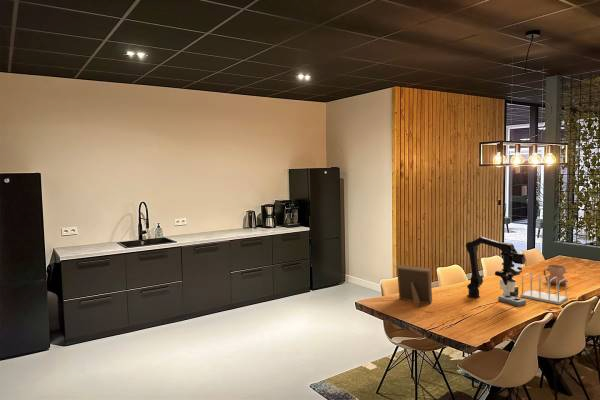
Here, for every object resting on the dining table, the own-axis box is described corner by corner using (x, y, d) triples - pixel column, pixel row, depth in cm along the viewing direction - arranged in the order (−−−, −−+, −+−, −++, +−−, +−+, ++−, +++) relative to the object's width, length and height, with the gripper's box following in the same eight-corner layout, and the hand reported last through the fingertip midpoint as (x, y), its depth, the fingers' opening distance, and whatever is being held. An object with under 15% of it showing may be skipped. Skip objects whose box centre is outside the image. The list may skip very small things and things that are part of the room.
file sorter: (567, 299, 308) (568, 277, 307) (559, 305, 296) (560, 282, 295) (529, 292, 326) (530, 271, 325) (520, 297, 315) (521, 275, 313)
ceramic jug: (571, 284, 345) (572, 266, 344) (564, 287, 335) (565, 269, 334) (547, 280, 358) (547, 262, 357) (539, 283, 349) (540, 265, 348)
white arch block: (499, 288, 303) (499, 279, 302) (502, 288, 304) (502, 278, 303) (512, 292, 294) (512, 282, 293) (515, 291, 295) (515, 282, 294)
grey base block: (498, 300, 307) (498, 296, 307) (505, 298, 311) (505, 294, 311) (518, 306, 294) (518, 302, 294) (525, 304, 298) (526, 300, 298)
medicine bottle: (509, 297, 314) (510, 280, 313) (502, 294, 321) (503, 278, 320) (518, 296, 316) (518, 279, 315) (511, 293, 323) (511, 277, 322)
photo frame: (401, 297, 316) (401, 263, 314) (432, 302, 305) (432, 266, 303) (394, 303, 304) (394, 267, 301) (426, 308, 293) (426, 271, 290)
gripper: (509, 266, 286) (508, 290, 287) (527, 262, 295) (527, 285, 296) (494, 262, 296) (494, 285, 297) (512, 259, 304) (512, 282, 306)
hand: (507, 285), depth 299 cm, fingers closed on white arch block, 3 cm apart
